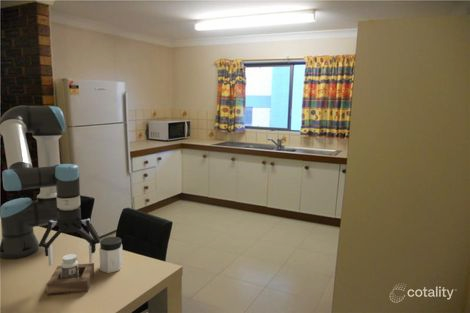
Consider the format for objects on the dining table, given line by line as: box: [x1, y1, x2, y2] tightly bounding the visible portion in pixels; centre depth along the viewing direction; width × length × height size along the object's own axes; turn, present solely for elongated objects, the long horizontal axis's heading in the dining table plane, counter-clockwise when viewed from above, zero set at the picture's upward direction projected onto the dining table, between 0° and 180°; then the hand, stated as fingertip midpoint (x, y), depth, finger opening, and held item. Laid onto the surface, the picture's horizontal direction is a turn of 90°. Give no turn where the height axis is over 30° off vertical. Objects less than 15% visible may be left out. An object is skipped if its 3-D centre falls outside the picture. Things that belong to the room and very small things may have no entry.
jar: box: [98, 236, 124, 274], centre depth 133 cm, size 9×8×12 cm
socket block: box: [46, 262, 95, 297], centre depth 121 cm, size 13×13×4 cm
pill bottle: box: [60, 253, 80, 279], centre depth 120 cm, size 6×6×10 cm
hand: (71, 262), depth 120 cm, fingers open, 13 cm apart
